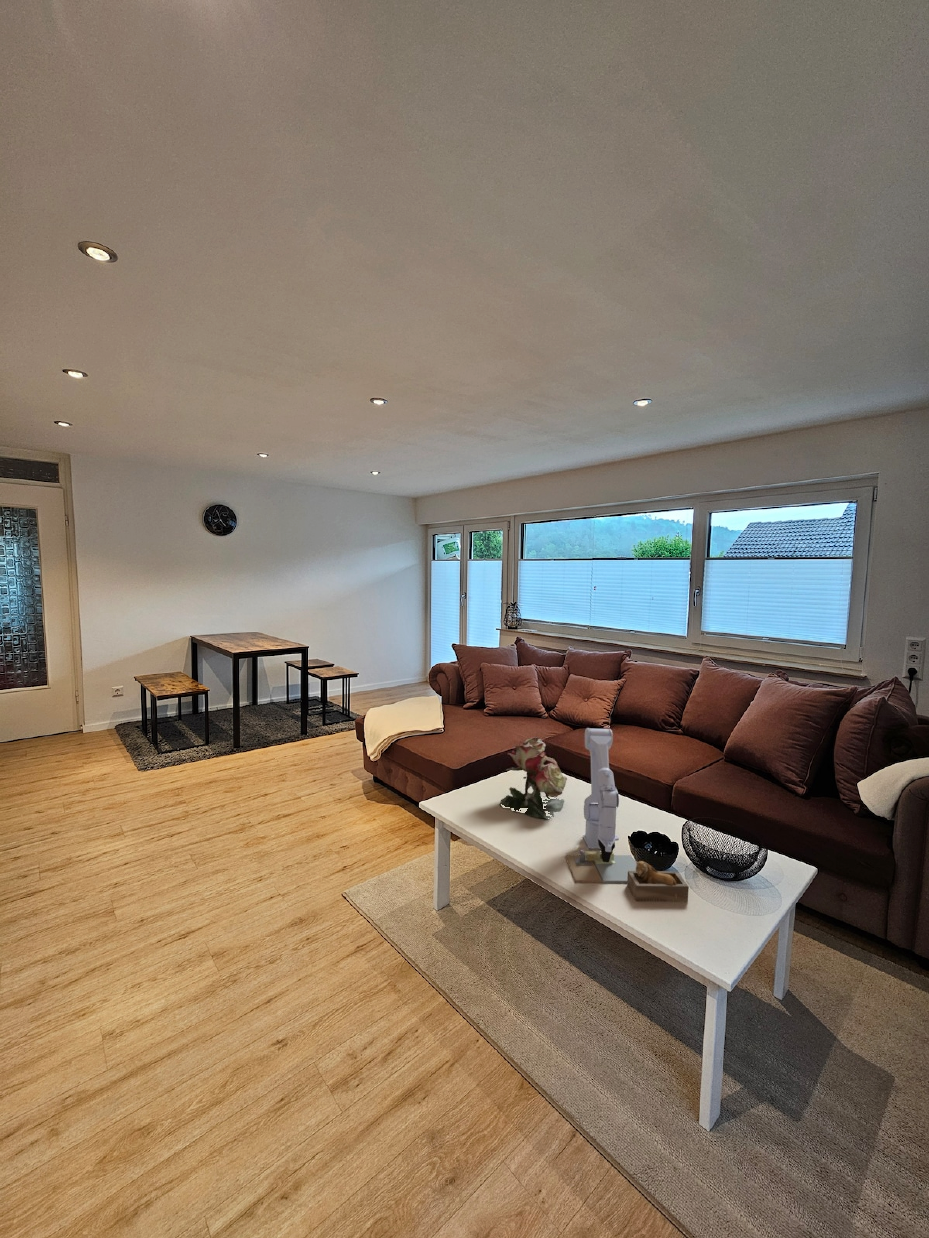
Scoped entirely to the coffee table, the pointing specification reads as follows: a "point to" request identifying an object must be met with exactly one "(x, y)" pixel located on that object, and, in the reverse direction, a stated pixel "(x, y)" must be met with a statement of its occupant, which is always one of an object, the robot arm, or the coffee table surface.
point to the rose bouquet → (536, 780)
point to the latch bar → (597, 856)
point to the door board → (600, 869)
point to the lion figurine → (653, 875)
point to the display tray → (657, 888)
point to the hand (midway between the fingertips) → (605, 861)
